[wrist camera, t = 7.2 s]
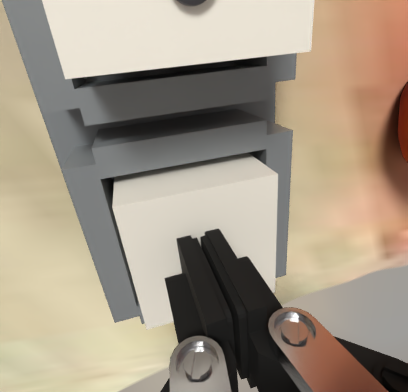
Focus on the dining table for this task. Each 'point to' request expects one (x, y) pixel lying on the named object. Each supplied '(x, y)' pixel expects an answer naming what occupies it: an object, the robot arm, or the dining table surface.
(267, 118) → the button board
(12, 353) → the dining table surface
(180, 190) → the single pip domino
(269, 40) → the two dot tile
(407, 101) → the fruit
